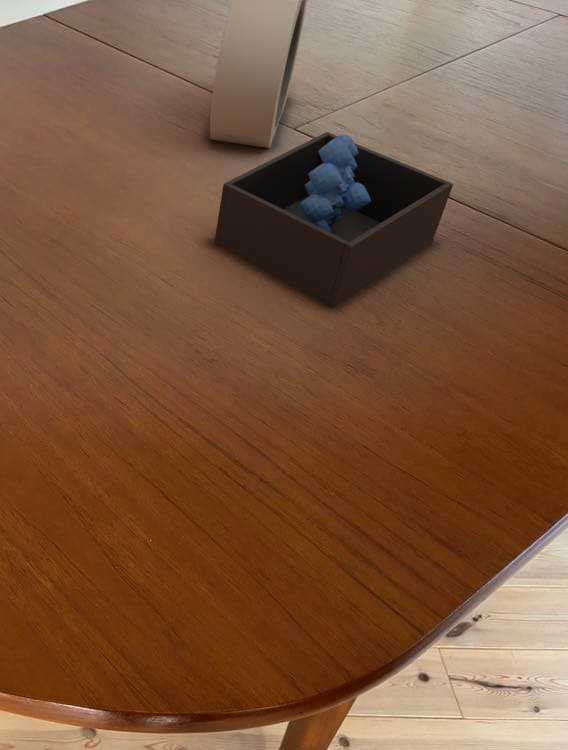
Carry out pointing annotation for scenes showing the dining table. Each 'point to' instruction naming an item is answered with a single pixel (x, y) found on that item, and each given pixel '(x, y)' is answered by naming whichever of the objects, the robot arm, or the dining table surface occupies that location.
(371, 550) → the dining table surface
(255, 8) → the alarm clock
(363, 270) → the basket
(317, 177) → the grapes
